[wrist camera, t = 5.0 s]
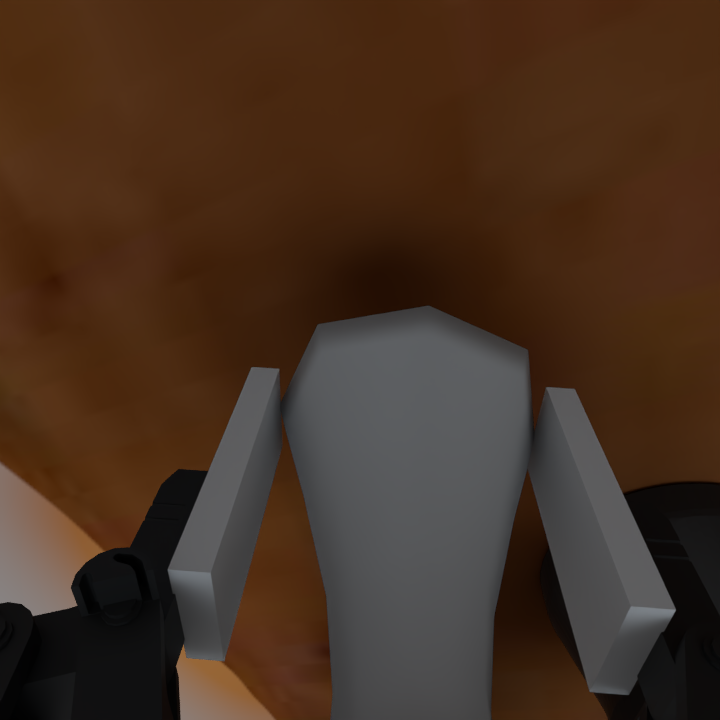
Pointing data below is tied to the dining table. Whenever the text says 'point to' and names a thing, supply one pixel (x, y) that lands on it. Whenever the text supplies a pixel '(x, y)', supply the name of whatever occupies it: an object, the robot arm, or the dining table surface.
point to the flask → (410, 503)
